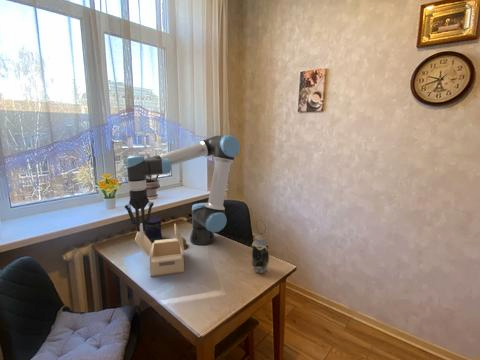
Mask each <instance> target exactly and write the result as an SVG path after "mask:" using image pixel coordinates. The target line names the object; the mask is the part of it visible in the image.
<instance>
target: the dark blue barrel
mask: <svg viewBox="0 0 480 360" xmlns="http://www.w3.org/2000/svg"><path fill="white" fill-rule="evenodd" d="M145 220H147V218H145ZM144 234H145V235H146V237H147V238H148V239H149V240H150V241H151V245H152V243H154V242H155V240H163V235H162V234H163V233H162V219H161V217H158V216H152V217H151V216H150V219H149V223H146V230H145V231H144Z"/></svg>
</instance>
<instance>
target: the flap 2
mask: <svg viewBox="0 0 480 360" xmlns="http://www.w3.org/2000/svg"><path fill="white" fill-rule="evenodd" d="M174 236H175V238H177V240H178V242H179V244H180V247H181V249H182V251H183V253H185V249H184V247H183V239H182V235H181V233H180V231H179V229H178V226H177V224H176V223H174Z"/></svg>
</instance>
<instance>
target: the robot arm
mask: <svg viewBox="0 0 480 360" xmlns="http://www.w3.org/2000/svg"><path fill="white" fill-rule="evenodd" d="M240 151H241V144H240V142H239V140H238V138H237V137H235V136H234V135H229V134H224V135H223V134H222V135H214V136H210V137H209V138H205V139H204V140H200V141H199V142H198V143H196V144H191V145H188V146H184V147H181V148H178V149H174V150H171V151H168V152H163V153H160V154H158V155H157V154H156V155H154V156H147V157H145V156H143V155H129V156H127V157H126V171H127V179H128V189H129V193H128V194H129V202H128V203H127V204H125V205H124V209H126V211H127V213H128V215H129V218H130V220H131V223H132V225H136V227H137V228H136V229H137V232H140V236H141V239H142V238H144V234H145V230H146V223H149V219H150V218H151V214H152V208H153V207H154V204H155V203H154V201H150V200H149V198H148V189H147V180H146V179H147V177H148V176H156V175H166V174H170V173H171V172H172V166H175V165H178V164H181V163H184V162H187V161H192V160H194V159H198V158H201V157H209V156H213V159H214V161H215V162H214V167H213V173H212V180H211V183H210V189H209V194H208V195H209V196H208V201H207V202H199V203H195V204H192V205H191V206H192V207H191V220H192V221H191V223H192V229H191V232H190V236H189V241H190V243H191V244H193V245H201V246H202V245H207V244H211V243H213V242H214V241H216V240H215V239H216V237H215V233H219V232H220V231H222V230H224V229H225V226H226V225H227V221H228V220H227V216H226V214H225V211H226V210H225V209H226V208H225V206H224V201H225V196H226V190H227V186H228V179H229V174H230V169H231V164H233V162H234V161H235V157H236V156H237V155H239V153H240ZM147 205H148V208H147V209H148V210H147V216H146V212H145V208H146V207H147ZM131 207H132V208H134V212H135V215H134V213H133V210H132V208H131ZM140 212H141V221H142V222H141V221H140ZM145 219H147V220H145Z"/></svg>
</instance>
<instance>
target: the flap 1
mask: <svg viewBox="0 0 480 360" xmlns="http://www.w3.org/2000/svg"><path fill="white" fill-rule="evenodd" d="M134 242H135V243H136V244H137V245H138V246H139V247H140V249H141V250H142V251H143V252H144V254H145V255H146V256H147V257H150V253H151V247H152V244H151V241H150V240H149V239H148V238H147V237H146V235H145V233H144V238H142V239H141V236H140V232H138V231H137V232H136V234H135V238H134Z"/></svg>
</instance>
